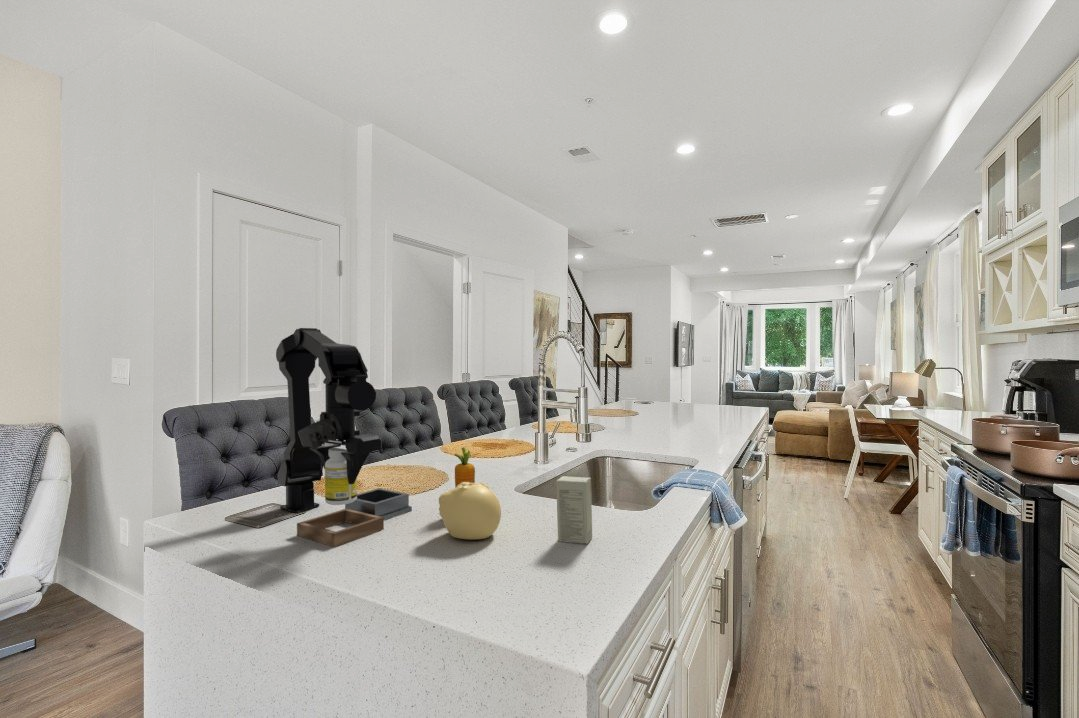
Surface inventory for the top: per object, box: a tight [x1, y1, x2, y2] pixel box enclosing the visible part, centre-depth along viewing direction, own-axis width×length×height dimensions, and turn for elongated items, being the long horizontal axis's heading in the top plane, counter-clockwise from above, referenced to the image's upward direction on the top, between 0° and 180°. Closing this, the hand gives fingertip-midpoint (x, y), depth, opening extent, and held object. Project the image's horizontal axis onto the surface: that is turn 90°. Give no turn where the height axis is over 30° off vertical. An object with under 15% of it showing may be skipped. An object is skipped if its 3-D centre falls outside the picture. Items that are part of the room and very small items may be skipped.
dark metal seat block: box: [344, 488, 413, 521], centre depth 124 cm, size 11×11×4 cm
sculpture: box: [438, 482, 502, 541], centre depth 109 cm, size 11×12×11 cm
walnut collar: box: [296, 508, 385, 548], centre depth 111 cm, size 12×12×2 cm
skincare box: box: [555, 475, 593, 544], centre depth 106 cm, size 6×4×12 cm
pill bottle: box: [324, 445, 358, 506], centre depth 110 cm, size 6×6×11 cm
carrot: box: [454, 447, 476, 488], centre depth 124 cm, size 5×5×15 cm
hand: (341, 481), depth 110 cm, fingers closed on pill bottle, 6 cm apart
